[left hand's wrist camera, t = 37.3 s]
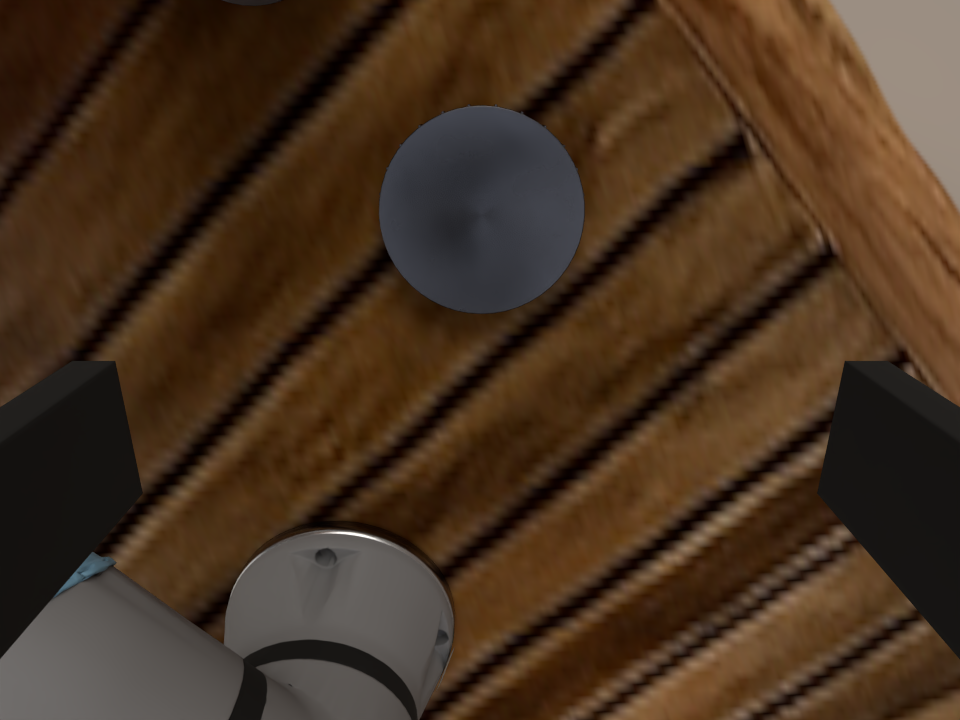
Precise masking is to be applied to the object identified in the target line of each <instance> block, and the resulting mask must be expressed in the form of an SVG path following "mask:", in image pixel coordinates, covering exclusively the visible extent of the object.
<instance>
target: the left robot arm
mask: <svg viewBox="0 0 960 720" xmlns="http://www.w3.org/2000/svg"><path fill="white" fill-rule="evenodd" d="M142 494H143V492H142V488H141V483H140V478H139V473H138V469H137V464H136V459H135V454H134V449H133V445H132V440H131V435H130V430H129V425H128V421H127V416H126V411H125V406H124V401H123V397H122V392H121V387H120V382H119V377H118V373H117V368H116V363H115V361H72V362H70V363H69V364H67V365H66V366H64V367H63V368H61V369H59V370H58V371H56V372H55V373H53V374H52V375H50V376H48V377H47V378H45V379H44V380H42V381H41V382H39V383H38V384H36V385H34V386H33V387H31V388H30V389H28V390H27V391H25V392H23V393H22V394H20V395H19V396H17V397H16V398H14V399H12V400H11V401H9V402H8V403H6V404H5V405H3V406H2V407H0V720H419V719H420V717H421V715H422V713H423V711H424V709H425V707H426V705H427V703H428V701H429V699H430V697H431V695H432V693H433V691H434V689H435V687H436V685H437V683H438V681H439V679H440V677H441V675H442V673H443V671H444V673H443V675H442V678H441V681H442V679H443V676H444V674H445V671H446V668H447V666H448V663H449V661H450V658H451V655H452V653H453V651H452V653H451V655H450V651H451V647H452V643H453V637H454V622H455V610H454V602H453V598H452V594H451V591H450V589H449V586H448V584H447V582H446V580H445V578H444V576H443V575H442V573H441V572H440V570H439V569H438V567H437V566H436V565H435V564H434V562H433V561H432V560H431V559H430V558H429V557H428V556H427V555H426V554H425V553H424V552H422V551H421V550H420V549H419V548H418V547H416V546H415V545H413V544H412V543H410V542H409V541H407V540H406V539H404V538H402V537H400V536H398V535H396V534H394V533H392V532H389V531H387V530H384V529H381V528H379V527H375V526H371V525H367V524H362V523H357V522H347V521H326V522H317V523H311V524H306V525H302V526H299V527H296V528H293V529H290V530H288V531H285V532H283V533H281V534H279V535H277V536H276V537H274V538H272V539H270V540H269V541H268V542H266V543H265V544H264V545H262V546H261V547H260V548H259V549H258V550H257V551H256V552H255V553H254V554H253V555H252V556H251V558H250V559H249V560H248V562H247V563H246V564H245V566H244V568H243V570H242V572H241V573H240V575H239V577H238V579H237V581H236V583H235V585H234V587H233V590H232V593H231V595H230V600H229V603H228V607H227V611H226V617H225V637H224V645H223V644H222V643H221V642H219V641H218V640H216V639H215V638H213V637H212V636H210V635H209V634H207V633H206V632H205V631H203V630H202V629H200V628H199V627H197V626H196V625H194V624H193V623H191V622H190V621H189V620H187V619H186V618H184V617H183V616H182V615H180V614H179V613H177V612H176V611H175V610H173V609H172V608H171V607H169V606H168V605H166V604H165V603H164V602H162V601H161V600H159V599H158V598H157V597H155V596H154V595H152V594H151V593H150V592H148V591H147V590H146V589H144V588H143V587H141V586H140V585H139V584H137V583H136V582H134V581H133V580H132V579H130V578H129V577H127V576H126V575H125V574H123V573H122V572H121V571H119V570H118V569H116V568H115V567H114V565H115V564H116V562H115V561H114V560H113V559H112V558H110V557H100V556H98V555H97V554H95V553H94V552H93V551H94V549H95V548H96V547H97V546H98V545H99V544H100V542H101V541H102V540H103V539H104V538H105V537H106V535H107V534H108V533H109V532H110V531H111V530H112V528H113V527H114V526H115V525H116V524H117V523H118V521H119V520H120V519H121V518H122V517H123V516H124V514H125V513H126V512H127V511H128V510H129V509H130V507H131V506H132V505H133V504H134V503H135V502H136V500H137V499H138V498H139V497H140V496H141V495H142ZM817 494H818V495H819V496H820V497H821V498H822V499H823V500H824V502H825V503H826V504H827V505H828V506H829V507H830V509H831V510H832V511H833V512H834V513H835V514H836V516H837V517H838V518H839V519H840V520H841V521H842V523H843V524H844V525H845V526H846V527H847V528H848V530H849V531H850V532H851V533H852V534H853V535H854V537H855V538H856V539H857V540H858V541H859V542H860V544H861V545H862V546H863V547H864V548H865V549H866V551H867V552H868V553H869V554H870V555H871V556H872V558H873V559H874V560H875V561H876V562H877V563H878V564H879V566H880V567H881V568H882V569H883V570H884V571H885V573H886V574H887V575H888V576H889V577H890V578H891V580H892V581H893V582H894V583H895V584H896V585H897V587H898V588H899V589H900V590H901V591H902V592H903V594H904V595H905V596H906V597H907V598H908V599H909V601H910V602H911V603H912V604H913V605H914V606H915V608H916V609H917V610H918V611H919V612H920V613H921V615H922V616H923V617H924V618H925V619H926V620H927V622H928V623H929V624H930V625H931V626H932V627H933V629H934V630H935V631H936V632H937V633H938V634H939V635H940V637H941V638H942V639H943V640H944V641H945V642H946V644H947V645H948V646H949V647H950V648H951V649H952V651H953V652H954V653H955V654H956V655H957V656H958V658H959V659H960V407H958V406H957V405H955V404H954V403H952V402H951V401H949V400H948V399H946V398H944V397H943V396H941V395H940V394H938V393H937V392H935V391H933V390H932V389H930V388H929V387H927V386H926V385H924V384H922V383H921V382H919V381H918V380H916V379H915V378H913V377H912V376H910V375H908V374H907V373H905V372H904V371H902V370H901V369H899V368H897V367H896V366H894V365H893V364H891V363H890V362H888V361H845V363H844V368H843V373H842V377H841V382H840V387H839V392H838V397H837V401H836V406H835V411H834V416H833V421H832V425H831V430H830V435H829V440H828V445H827V449H826V454H825V459H824V464H823V469H822V473H821V478H820V483H819V488H818V492H817ZM453 650H454V649H453ZM449 655H450V657H449ZM448 658H449V660H448ZM447 661H448V662H447ZM446 664H447V665H446ZM445 666H446V667H445ZM444 669H445V670H444ZM441 681H440V683H441ZM440 683H439V685H440ZM438 687H439V686H438Z"/></svg>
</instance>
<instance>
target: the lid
mask: <svg viewBox="0 0 960 720" xmlns="http://www.w3.org/2000/svg"><path fill="white" fill-rule="evenodd" d="M418 127H419V128H417V129H416V130H415V131H414V132H413V133H412V134H411V135H410V136H409V137H408V138H407V139H406V140H405V141H404V142H403V143H401V144H400V145H399V146H400V147H399V149H398V150H397V152H396V153H395V155H394V157H393V158H392V160H391V162H390V164H389V166H388V167H387V168H386V169H387V171H386V173H385V176H384V180H383V183H382V187H381V192H380V194H379V195H380V199H379V221H380V228H381V232H382V236H383V241H384V243H385V246H386V249H387V251H388V254H389V256H390V257H391V259H392V261H393V263H394V265H395V266H396V268H397V269H398V271H399V272H400V273H401V275H402V276H403V277H404V278H405V279H406V280H407V282H408V283H409V284H410V285H411V286H412V287H414V288H415V289H416V290H417V291H418V292H419V293H421V294H422V295H424V296H425V297H427V298H428V299H430V300H431V301H433V302H435V303H437V304H439V305H442V306H444V307H447V308H450V309H453V310H456V311H461V312H466V313H475V314H488V313H498V312H503V311H508V310H511V309H514V308H517V307H520V306H522V305H524V304H526V303H528V302H530V301H532V300H534V299H535V298H537V297H538V296H540V295H542V294H543V293H544V292H545V291H546V290H548V289H549V288H550V287H551V286H552V285H553V284H554V283H555V282H556V281H557V280H558V279H559V278H560V277H561V275H562V274H563V273H564V271H565V270H566V269H567V267H568V266H569V264H570V262H571V260H572V259H573V257H574V255H575V253H576V250H577V248H578V245H579V243H580V239H581V235H582V231H583V225H584V217H585V202H584V193H583V188H582V184H581V180H580V177H579V174H578V172H577V170H578V169H577V168H576V167H575V164H574V162H573V160H572V159H571V157H570V155H569V154H568V152H567V150H566V149H565V148H564V147H565V146H564V145H563V144H561V143H560V141H559V140H558V139H557V138H556V137H555V136H554V135H553V134H552V133H551V132H550V131H549V130H548V129H546V126H545V125H541V124H539V123H538V122H537V121H535V120H533V119H531V118H529V117H528V116H526V115H524V114H523V112H521V111H520V112H519V113H518V112H516V111H513V110H510V109H506V108H501V107H497V105H494V106H486V105H479V106H470V104H469V105H468V106H467V107H462V108H457V109H454V110H451V111H448V112H445V111H443V112H442V114H440V115H438V116H436V117H435V118H433V119H431V120H429V121H427V122H426V123H425V124H421V125H419V126H418Z"/></svg>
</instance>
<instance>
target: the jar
mask: <svg viewBox="0 0 960 720" xmlns="http://www.w3.org/2000/svg"><path fill="white" fill-rule="evenodd" d="M223 1H226V2H229V3H234V4H239V5H251V6H257V5H267V4H271V3H275V2H279V1H282V0H223Z"/></svg>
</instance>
